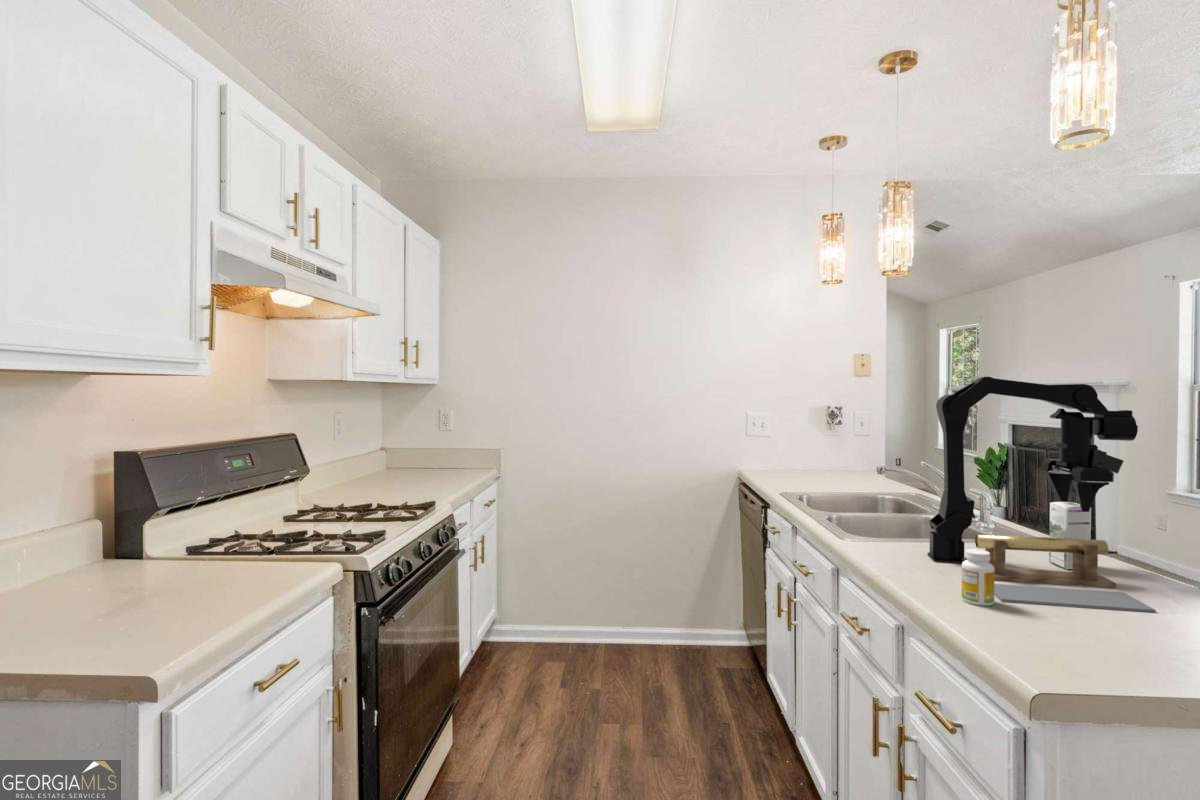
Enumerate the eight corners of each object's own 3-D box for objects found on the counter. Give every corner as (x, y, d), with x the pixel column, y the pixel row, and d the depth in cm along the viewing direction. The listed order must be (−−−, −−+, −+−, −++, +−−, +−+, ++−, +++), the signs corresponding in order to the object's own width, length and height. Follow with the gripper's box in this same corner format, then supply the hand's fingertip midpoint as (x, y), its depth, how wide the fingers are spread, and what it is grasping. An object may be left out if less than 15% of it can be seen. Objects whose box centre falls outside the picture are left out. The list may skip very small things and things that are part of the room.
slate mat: (1001, 601, 118) (1001, 598, 118) (982, 585, 128) (982, 583, 128) (1155, 612, 112) (1155, 609, 112) (1123, 594, 122) (1123, 592, 122)
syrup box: (1091, 570, 139) (1093, 506, 138) (1065, 570, 139) (1066, 506, 138) (1072, 562, 144) (1074, 501, 144) (1047, 562, 144) (1048, 501, 144)
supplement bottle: (989, 598, 120) (990, 549, 120) (997, 607, 115) (998, 556, 115) (958, 595, 122) (959, 547, 122) (965, 604, 117) (965, 553, 116)
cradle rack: (980, 579, 132) (980, 540, 132) (969, 570, 139) (969, 533, 139) (1116, 588, 126) (1116, 547, 126) (1097, 577, 133) (1098, 539, 133)
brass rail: (979, 549, 134) (979, 535, 134) (974, 546, 137) (975, 532, 137) (1108, 556, 128) (1108, 542, 128) (1100, 552, 131) (1100, 538, 131)
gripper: (1144, 443, 128) (1141, 518, 128) (1094, 437, 146) (1092, 502, 147) (1082, 442, 131) (1080, 515, 131) (1041, 435, 149) (1039, 499, 149)
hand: (1074, 507), depth 139 cm, fingers open, 9 cm apart
